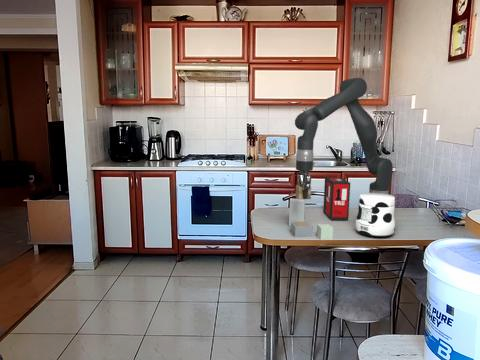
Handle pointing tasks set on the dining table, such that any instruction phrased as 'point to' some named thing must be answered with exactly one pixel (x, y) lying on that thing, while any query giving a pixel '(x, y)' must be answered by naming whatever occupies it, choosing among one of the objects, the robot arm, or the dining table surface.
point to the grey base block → (301, 229)
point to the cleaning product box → (336, 199)
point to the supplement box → (296, 210)
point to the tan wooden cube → (300, 192)
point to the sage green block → (324, 232)
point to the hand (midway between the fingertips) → (303, 196)
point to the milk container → (376, 214)
